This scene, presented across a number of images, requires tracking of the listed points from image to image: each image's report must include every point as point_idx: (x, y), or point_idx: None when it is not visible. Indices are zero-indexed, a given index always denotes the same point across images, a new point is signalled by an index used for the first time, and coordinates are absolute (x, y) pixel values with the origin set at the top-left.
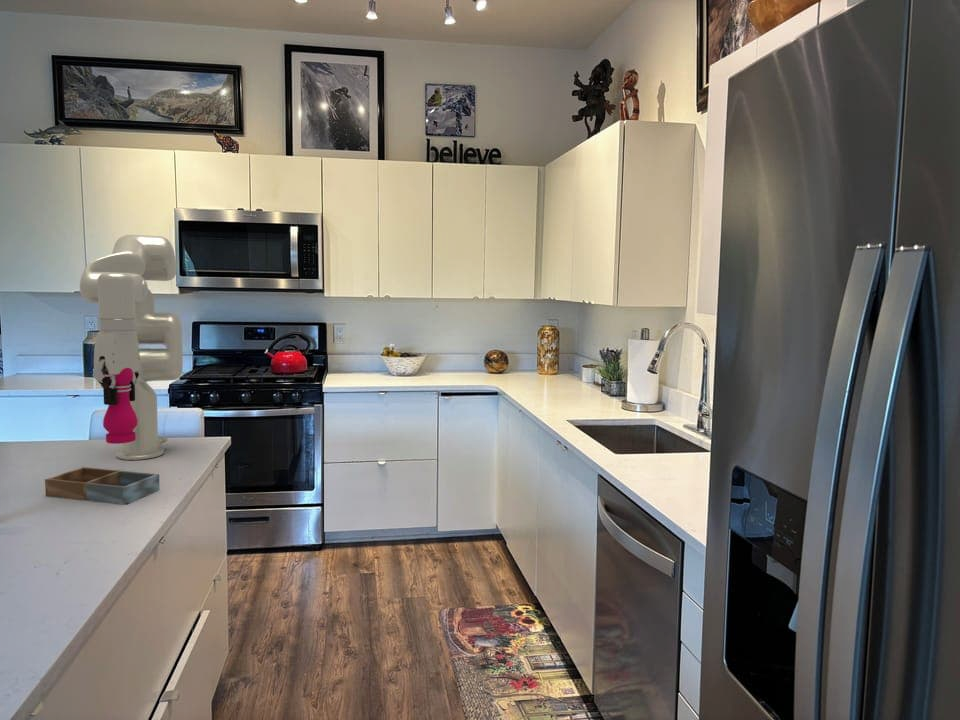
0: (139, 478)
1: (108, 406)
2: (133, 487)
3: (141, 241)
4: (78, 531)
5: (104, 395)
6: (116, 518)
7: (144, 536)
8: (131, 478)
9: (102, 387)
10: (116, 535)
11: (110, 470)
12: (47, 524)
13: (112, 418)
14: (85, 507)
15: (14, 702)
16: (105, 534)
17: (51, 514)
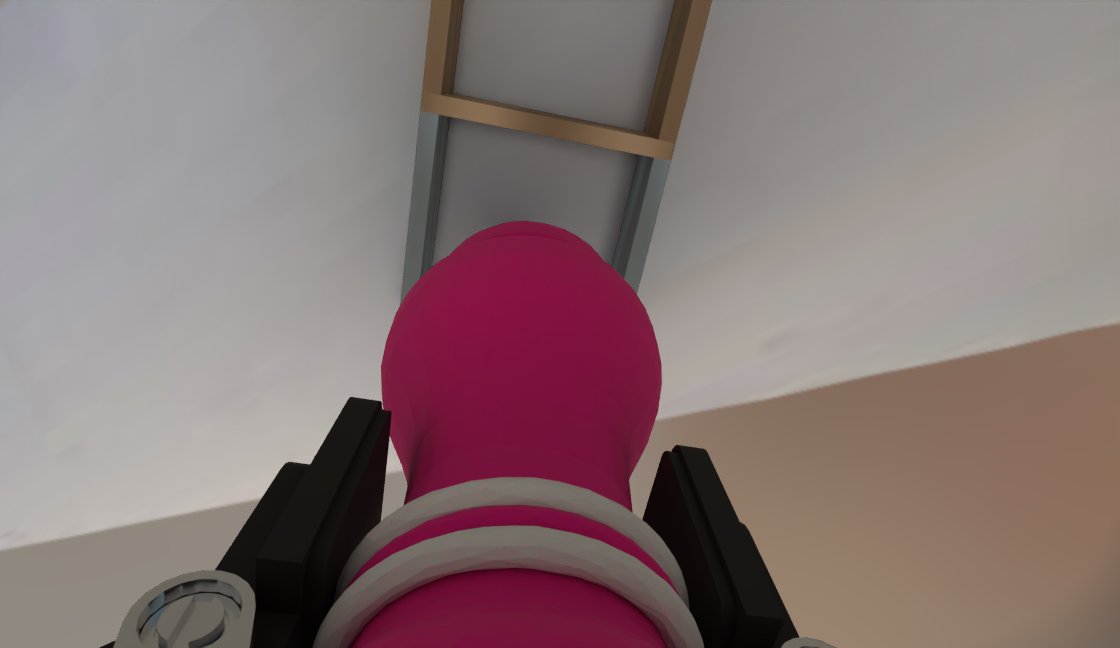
0: (621, 267)
1: (446, 378)
2: None
3: None
4: (100, 297)
5: (253, 511)
6: (260, 350)
7: (142, 510)
8: (631, 222)
9: (174, 593)
10: (117, 433)
11: (674, 94)
12: (117, 133)
13: (383, 406)
14: (345, 160)
15: None
16: (111, 397)
17: (225, 66)
